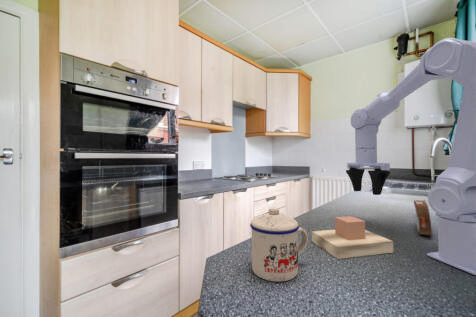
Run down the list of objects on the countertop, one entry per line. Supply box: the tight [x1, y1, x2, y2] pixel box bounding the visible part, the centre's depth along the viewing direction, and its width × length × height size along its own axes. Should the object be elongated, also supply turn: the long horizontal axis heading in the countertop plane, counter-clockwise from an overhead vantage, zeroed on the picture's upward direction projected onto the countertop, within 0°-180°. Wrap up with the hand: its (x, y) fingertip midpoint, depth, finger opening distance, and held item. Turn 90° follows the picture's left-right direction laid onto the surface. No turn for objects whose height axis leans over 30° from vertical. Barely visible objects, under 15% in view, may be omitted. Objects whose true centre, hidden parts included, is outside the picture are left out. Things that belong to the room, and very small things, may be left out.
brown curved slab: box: [413, 199, 433, 237], centre depth 61 cm, size 15×3×8 cm, turn 143°
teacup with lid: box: [249, 207, 309, 282], centre depth 41 cm, size 12×9×12 cm
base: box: [311, 229, 394, 260], centre depth 51 cm, size 10×14×2 cm
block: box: [334, 215, 366, 240], centre depth 51 cm, size 4×4×4 cm
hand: (366, 192), depth 66 cm, fingers open, 7 cm apart
